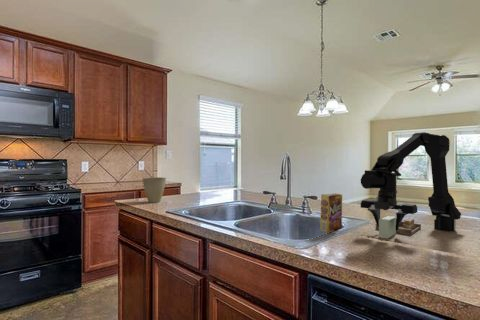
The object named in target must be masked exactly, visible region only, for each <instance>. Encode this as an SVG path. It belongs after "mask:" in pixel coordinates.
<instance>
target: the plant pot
mask: <svg viewBox="0 0 480 320" xmlns="http://www.w3.org/2000/svg"><path fill="white" fill-rule="evenodd" d="M166 178H167V177H158V176H157V177H142V184H143V188H144V193H145V196H146V198H147V202H148V203H152V204H154V203H156V202H157V203H160V202H161V200H162V198H163V196H164V195H163V194H164V191H165V186H166V182H167V181H166V180H167V179H166Z"/></svg>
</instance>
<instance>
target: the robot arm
mask: <svg viewBox="0 0 480 320" xmlns="http://www.w3.org/2000/svg"><path fill="white" fill-rule="evenodd" d="M420 147H424V151H425V153H426V154H427V156H428V157H429V158H430V167H431V178H432V179H431V180H432V189H433V191H432V192H433V193H432V194H431V196H428V197H427V200H428V207H429V210H430V212H431V215H432V216H435V219H434V220H433V223H434V224H433V230H437V231H442V232H450V233H451V232H455V231H456V225H457V224H456V222H457V220H460V219H461V217H462V212H460V210H459V208H458V207H456V204H455V199H454V198H453V196H452V195H451V193H449V185H448V175H447V165H446V164H447V163H446V162H447V161H446V157H447V155H448V152H449V151H450V139H449V137H448V136H447V135H445V134H433V133H429V132H426V131H423V132H422V131H421V132H420V131H419V132H415V133H413V134H412V135H411V136H410V137H409V138H408V139H406V140H405V141H404V142H403V143H401V144H400V145H398V146H397V147H396V148H394V149H393V150H390V151H388V152H385V153H383V154H381V155H379V156H378V157H377V158H376V159H377V160H376V162H375V164H374V165H373V167H372V168H371V170H369V169H367V170H364V173H363V174H362V176H361V178H360V184H361V186H362V188H364V189H366V190H367V189H371V190H372V189H379V190H378V193H377V196H376V197H375V198H374V199H363V200H361V201H360V208H362V209H367V211H369V212H370V213H371V214H372V217H373V219H374V220H375V225H376V224H377V227H379V219H381V210H383V211H388V210H395V211H396V210H397V211H398V212H396V213H395V217H396V230H398V228H399V226H400V224H401V221H403V220H404V218H405V216H407V215H414V214H416V213H418V206H417V205H416V204H414V203H403V204H398V201H397V194H398V190H397V182H398V181H397V179H398V178H397V177H401V176H402V174H401V173H400V172H399V171H398V169H399V168H400V167H401V166H402V165H403V164H404V160H405V159H406V158H407V157H408V156H409V155H411V154H412V153H414V151H416V150H417V149H418V148H420Z"/></svg>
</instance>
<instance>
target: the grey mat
mask: <svg viewBox="0 0 480 320" xmlns="http://www.w3.org/2000/svg"><path fill="white" fill-rule="evenodd" d="M367 237H368V238H370V236H368V235H367ZM371 238H373V239H375V237H373V236H371ZM376 239H379V240H380V237H376ZM382 240H383V241H385V238H382ZM387 241H390V242H391V240H388V239H387ZM392 242H393V243H396V241H394V240H392ZM397 243H398V244H401V242H399V241H397Z"/></svg>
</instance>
